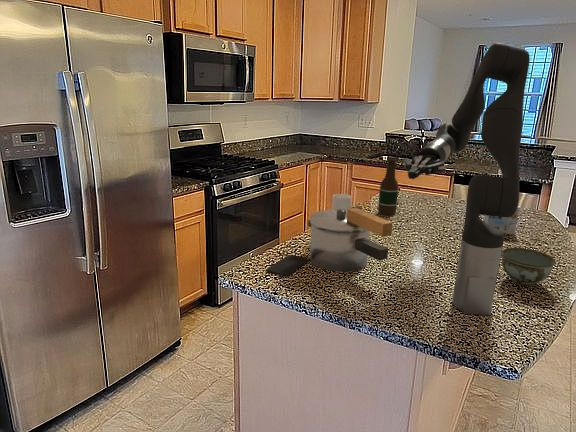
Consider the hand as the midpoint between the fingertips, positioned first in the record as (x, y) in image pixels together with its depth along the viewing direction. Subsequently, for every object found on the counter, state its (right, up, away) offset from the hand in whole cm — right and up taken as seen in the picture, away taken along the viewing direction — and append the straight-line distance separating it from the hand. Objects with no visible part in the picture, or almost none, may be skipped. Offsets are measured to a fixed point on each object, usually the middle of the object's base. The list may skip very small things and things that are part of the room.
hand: (411, 175), depth 122 cm
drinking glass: (-16, -19, +36) cm, 44 cm away
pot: (-17, -26, +11) cm, 33 cm away
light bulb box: (+48, -17, +47) cm, 70 cm away
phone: (-35, -27, +9) cm, 45 cm away
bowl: (+33, -30, +2) cm, 45 cm away
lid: (-16, -15, +5) cm, 23 cm away
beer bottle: (+8, -10, +66) cm, 68 cm away
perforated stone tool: (-11, -16, +47) cm, 51 cm away
